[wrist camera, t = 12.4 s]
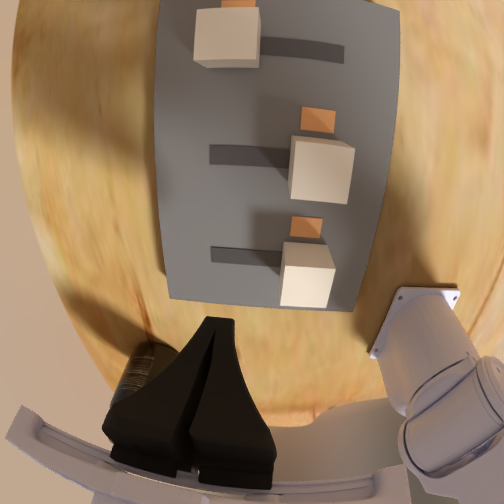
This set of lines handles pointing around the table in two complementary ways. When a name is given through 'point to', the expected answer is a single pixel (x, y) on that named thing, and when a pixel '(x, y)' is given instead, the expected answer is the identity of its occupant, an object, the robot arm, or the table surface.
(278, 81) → the switch panel
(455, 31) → the table surface
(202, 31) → the block
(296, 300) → the block
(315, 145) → the slider middle
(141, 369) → the supplement bottle
